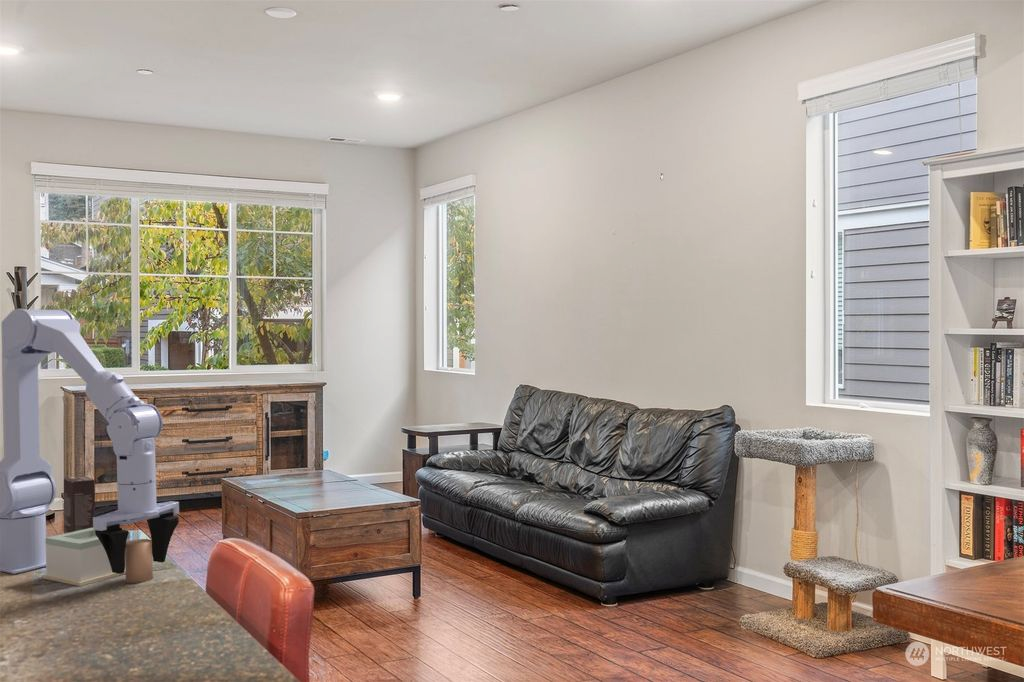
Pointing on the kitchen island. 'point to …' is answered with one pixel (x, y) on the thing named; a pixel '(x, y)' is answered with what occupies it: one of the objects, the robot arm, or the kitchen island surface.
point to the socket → (77, 558)
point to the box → (78, 503)
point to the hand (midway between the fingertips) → (139, 566)
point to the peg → (138, 561)
